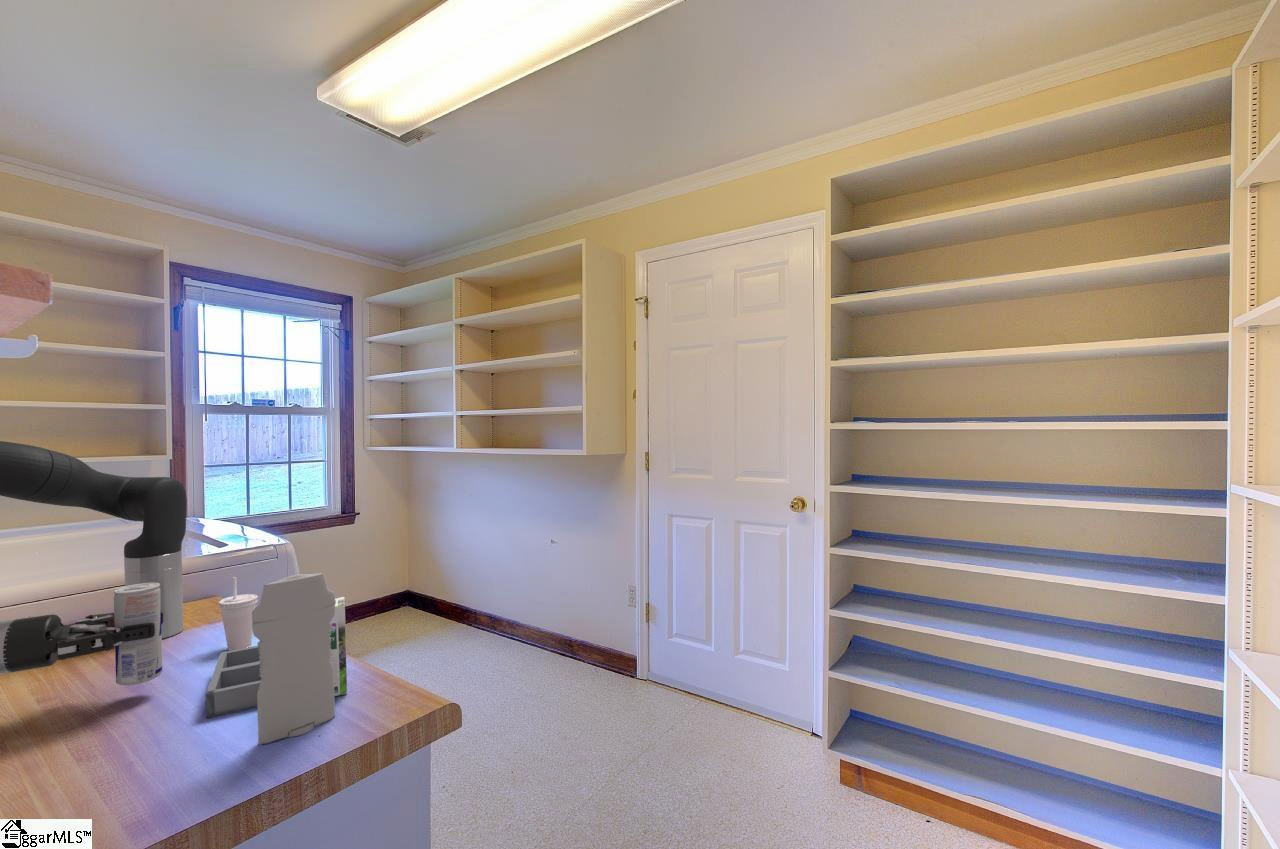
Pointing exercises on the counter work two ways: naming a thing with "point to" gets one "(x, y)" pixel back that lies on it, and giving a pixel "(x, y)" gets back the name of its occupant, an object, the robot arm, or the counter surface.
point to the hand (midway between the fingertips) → (158, 623)
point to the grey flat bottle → (294, 656)
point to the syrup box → (339, 648)
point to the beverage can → (142, 655)
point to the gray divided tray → (234, 682)
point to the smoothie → (238, 618)
